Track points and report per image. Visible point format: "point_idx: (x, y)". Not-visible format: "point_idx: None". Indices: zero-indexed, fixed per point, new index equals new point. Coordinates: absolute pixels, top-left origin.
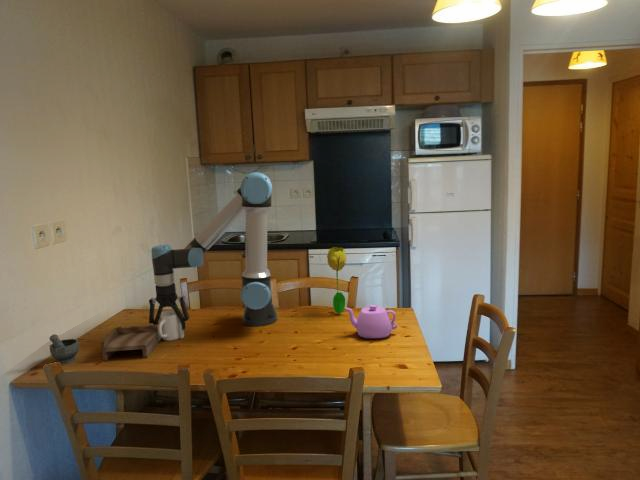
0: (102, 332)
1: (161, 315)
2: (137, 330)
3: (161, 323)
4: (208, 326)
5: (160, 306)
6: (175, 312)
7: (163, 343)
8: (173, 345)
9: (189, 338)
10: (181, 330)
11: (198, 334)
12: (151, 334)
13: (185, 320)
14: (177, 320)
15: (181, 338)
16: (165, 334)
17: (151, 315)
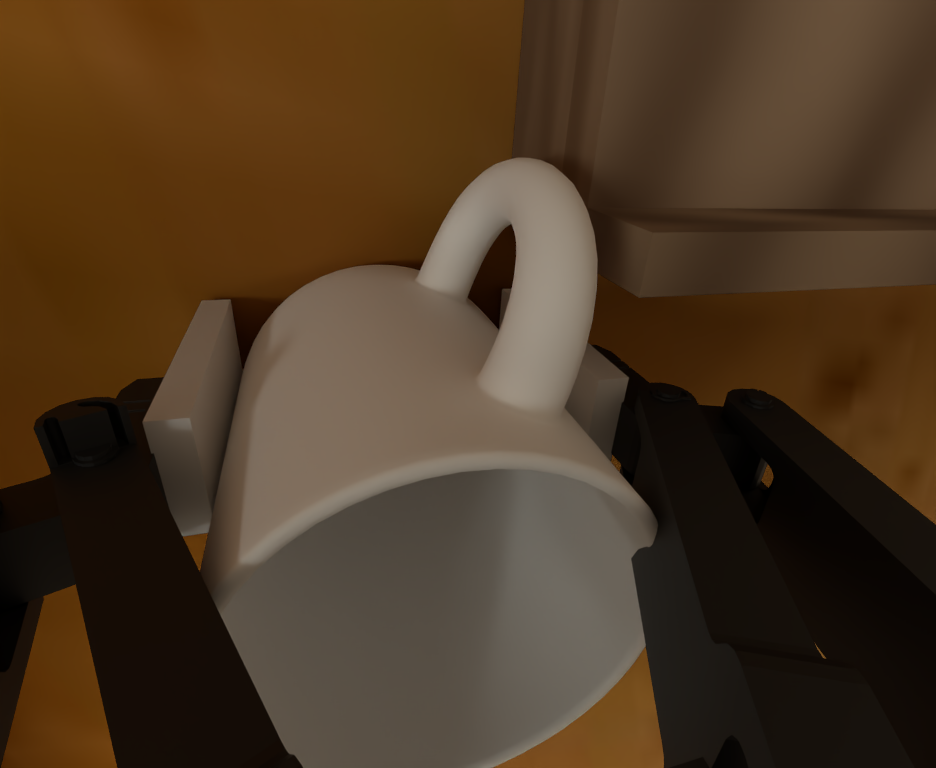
0: (929, 519)
1: (608, 603)
2: (888, 216)
3: (550, 259)
4: (35, 660)
5: (848, 764)
6: (215, 628)
7: (439, 176)
8: (250, 36)
9: (98, 308)
10: (182, 348)
11: (27, 441)
12: (662, 57)
13: (17, 490)
14: (231, 476)
15: (220, 301)
16: (441, 274)
17: (838, 485)
